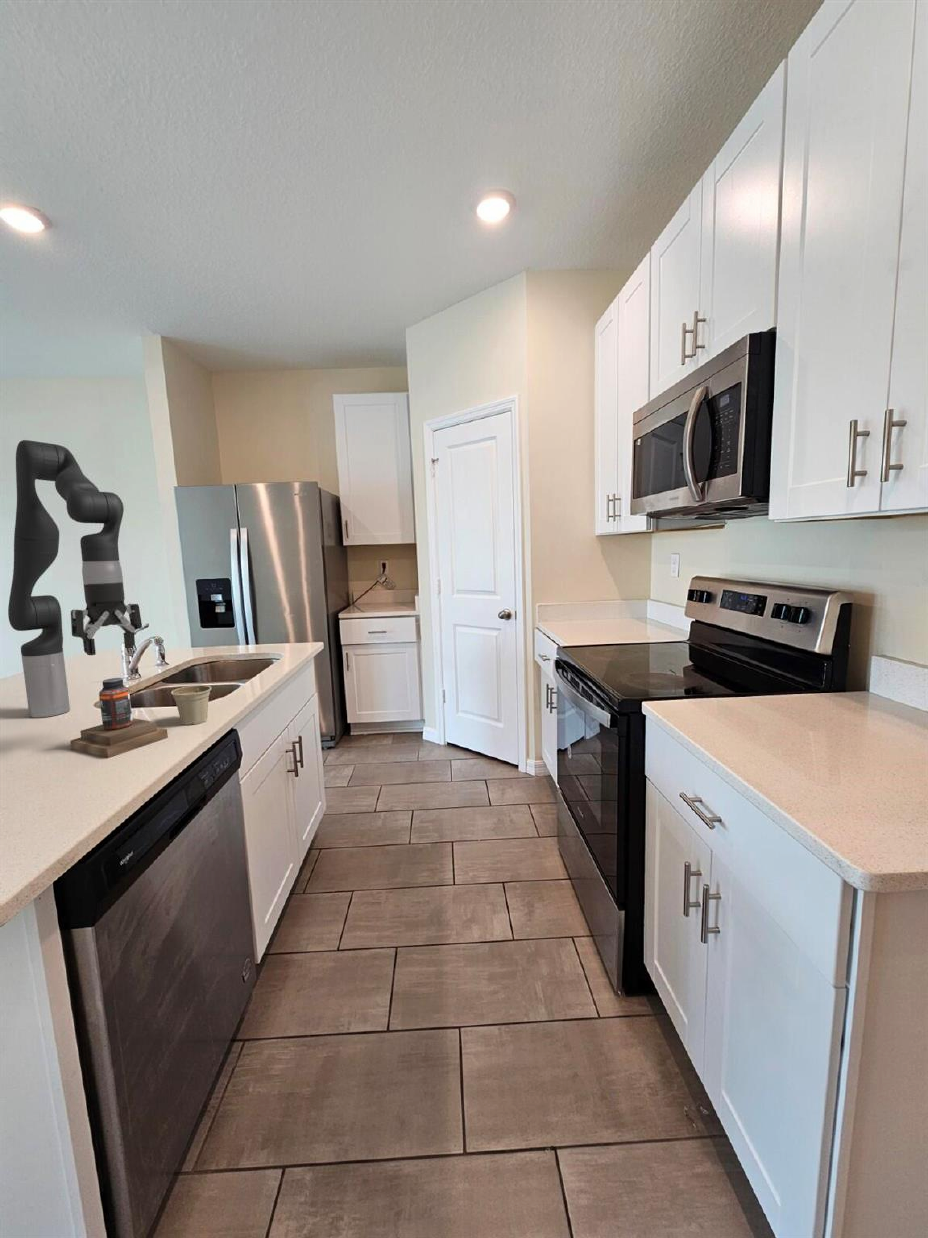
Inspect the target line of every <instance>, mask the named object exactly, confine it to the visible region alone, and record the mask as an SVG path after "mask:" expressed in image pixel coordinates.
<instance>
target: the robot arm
mask: <svg viewBox="0 0 928 1238" xmlns="http://www.w3.org/2000/svg"><path fill="white" fill-rule="evenodd" d="M15 477H16V478H15V480H16V483H15V485H16V509H15V510H16V511H15V524H14V533H13V534H14V535H13V536H14V537H13V568H12V569H13V570H12V581H11V587H10V593H9V598H8V606H7V607H8V610H7V612H8V615H7V617H8V621H9V624H10V626H11V628H12V629H14V631H18V632H26V631H37V630H41V632H40V634H39V635H38V636H36V637H35V638H34V639H32V640H30V641H28V642H25V643H23V644H22V645H21V646H20V655H21V663H22V669H23V678H24V684H25V685H24V686H25V691H26V700H27V707H28V716H29V717H30V718H34V719H35V718H48V717H54V716H58V715H61V714H65V713H68V712H69V711H70V710H71V706H70V698H69V689H68V681H67V673H66V671H67V670H66V665H65V664H66V663H65V656H64V648H63V646H64V645H63V644H64V634H63V617H62V608H61V605H60V602H59V600H58V599H57V598H56V597H55V596H54V595H50V594H47V595H45V594H44V595H32V594H33V591H34V587H35V585H36V584H37V582H38V580H39V579H40V578H41V577H42V575H43V574H45V572H46V571H47V570H48V569H49V568H50V567H51V566H52V564H53V563H54V561H55V560H56V559H57V557H58V553H59V549H60V548H59V545H60V530H59V527H58V525H57V524H56V522H55V520H54V519H53V518H52V516H51V515H50V513H49V512H48V511H47V509H46V507H45V505H43V503H42V501H41V500H40V497H39V496H38V494H37V493H38V492H37V489H36V480H38V481H47V482H54V487H55V490H56V492H57V493H58V494H59V496H60V497H61V498H62V499H63V500H64V501H65V502H66V511H67V514H68V516H69V518H70V519H71V520H72V521H74V522H77V523H81V524H103V527H102V529H101V531H99V532H96V533H90V534H86V535H83V536H81V537H80V540H79V541H80V553H81V561H82V562H81V563H82V566H81V567H82V569H81V570H82V571H81V573H82V583H83V593H84V601H85V603H86V607H85V609H71V611H70V622H71V623H70V624H71V625H70V626H71V627H70V629H71V636H72V637H75V638H80V639H82V642H83V643H82V644H83V651H84V653H85V654H86V655H87V656H96V654H97V651H96V643H95V638H93V637H94V636H95V635H96V633H97V631H99V630H100V628H101V627H109V626H118V627H120V629H121V630H123V642H124V648H125V649H133V648H134V646H135V644H136V640H135V639H136V638H135V631H137V630H138V629H142V627H143V623H142V618H141V611H140V606H139V604H138V603H129V604H127V605H126V604H125V588H124V577H123V571H122V566H121V561H120V553H119V537H120V536H119V535H120V530H121V529H120V528H121V525H122V521H123V517H124V504H123V501H122V499H121V497H119V495H118V494H116V493H115V492H112V491H111V492H110V491H100V490H99V488H98V487H97V486H96V484H94V483H93V482H92V481H91V480H90V479H89V478H88V477H87V476H86V475H85V474H84V473H83V470H82V469H81V467H80V465H79V464H78V461H77V460H76V458H75V455H73V453H72V452H71V450H69V449H68V448H67V447H65V446H63V445H59V444H55V443H48V442H42V441H35V440H28V439H22V440H21V441H19V442H18V444H17V446H16V451H15ZM125 613H127V614H128V616H129V617H128V618H129V620H128V619H127V617H126V616H125ZM86 616H87V618H88V621H87V623H86V624H85V623H84V619H86ZM84 624H85V625H84Z"/></svg>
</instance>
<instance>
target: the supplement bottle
mask: <svg viewBox="0 0 928 1238" xmlns="http://www.w3.org/2000/svg"><path fill="white" fill-rule="evenodd" d="M98 696H99V705H100V713H101V721H102V724H103V728H104V729H107V730H115V729H121V728H125V727H127V726H130V725H131V724H132V723H133V720H132V718H133V713H132V705H131V695H130V689H129V688H128V687H127V686H126V685H125V684H124V680H123V678H122V677H112V678H106V679H104V680H102V689H101V690H100V691H99V693H98Z"/></svg>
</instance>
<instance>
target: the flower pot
mask: <svg viewBox="0 0 928 1238" xmlns="http://www.w3.org/2000/svg"><path fill="white" fill-rule="evenodd" d="M211 691H212V687H211V686H210V685H205V684H204V685H201V684H199V685H198V684H197V685H190V686H189V685H188V686H183V687H179V688H175V689H173V690H171V692H170V694H171V695H172V696H173V699H174V701H175V703H176V708H177V711H178V716H179V720H180V723H181V724H182V725H185V726H190V725H192V724H194V725H198V724H202V723H204V722H207V719H208V715H209V714H208V713H209V712H208V711H209V698H210V697H209V696H210V694H211Z"/></svg>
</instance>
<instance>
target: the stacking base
mask: <svg viewBox="0 0 928 1238" xmlns="http://www.w3.org/2000/svg"><path fill="white" fill-rule="evenodd" d="M132 720H133V723H132V724H131V725H130V726H127V727H125V728H121V729H115V730H107V729H104V728H103V723H102V724H99V725H96V726H93V727H89V728H86V729H82V730H80V737H78V738H77V737H76V738H73V739H71V740H70V747H71V750H75V751H78V752H79V751H80V752H83V753H88V754H91V755H93V756H94V755H96V756H99V757H103V758H108V759H110V758H112V757H116V756H118V755H121V754H124V753H127V752H130V751H133V750H135V749H138V748H142V747H144V746H147V745H150V744H154V743H156V742H158V741H161V740H164V739H167V738H169V735H168V729H167V728H161V727H158V725H157V722H155V721H150V720H144V719H140V718H134V717H132Z"/></svg>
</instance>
